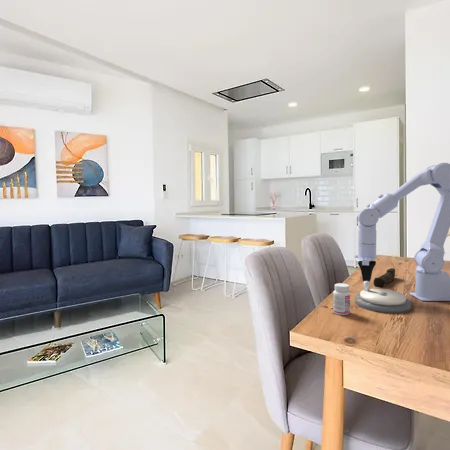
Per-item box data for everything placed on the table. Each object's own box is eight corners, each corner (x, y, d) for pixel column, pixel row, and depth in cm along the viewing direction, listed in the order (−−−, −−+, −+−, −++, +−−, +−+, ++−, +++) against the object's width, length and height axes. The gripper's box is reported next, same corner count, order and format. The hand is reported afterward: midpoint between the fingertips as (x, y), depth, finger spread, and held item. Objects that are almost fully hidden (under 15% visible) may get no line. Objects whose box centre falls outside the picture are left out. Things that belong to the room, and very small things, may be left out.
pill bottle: (348, 316, 93) (348, 287, 92) (331, 313, 95) (331, 285, 94) (351, 311, 97) (351, 283, 96) (335, 308, 99) (335, 282, 98)
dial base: (396, 296, 110) (396, 291, 110) (422, 313, 94) (422, 307, 94) (348, 296, 111) (348, 292, 111) (366, 313, 95) (366, 308, 95)
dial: (414, 300, 100) (414, 286, 100) (390, 308, 93) (391, 293, 93) (375, 290, 111) (375, 277, 111) (351, 297, 104) (351, 284, 104)
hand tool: (384, 289, 119) (384, 277, 119) (373, 287, 122) (373, 275, 122) (401, 279, 133) (401, 268, 132) (390, 277, 136) (391, 267, 135)
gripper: (356, 240, 120) (356, 276, 121) (352, 245, 107) (352, 285, 108) (377, 241, 117) (377, 277, 118) (376, 246, 104) (375, 288, 105)
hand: (366, 281), depth 113 cm, fingers closed
